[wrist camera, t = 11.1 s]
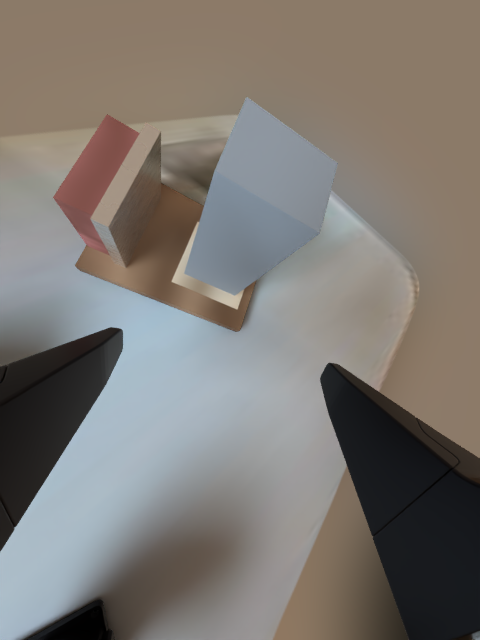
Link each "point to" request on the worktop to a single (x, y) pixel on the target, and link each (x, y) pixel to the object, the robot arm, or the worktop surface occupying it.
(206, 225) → the tall blue-gray box
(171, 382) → the worktop surface
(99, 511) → the worktop surface
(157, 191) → the shelf board
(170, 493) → the worktop surface
